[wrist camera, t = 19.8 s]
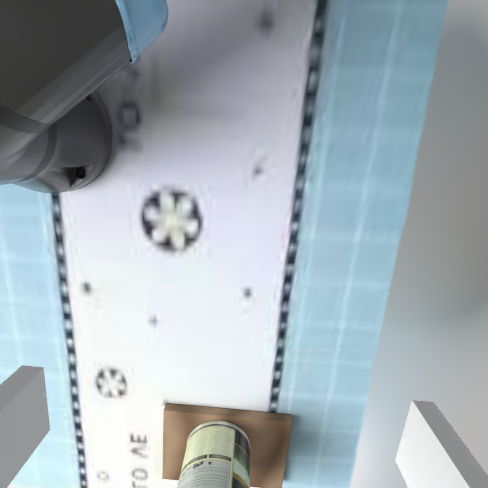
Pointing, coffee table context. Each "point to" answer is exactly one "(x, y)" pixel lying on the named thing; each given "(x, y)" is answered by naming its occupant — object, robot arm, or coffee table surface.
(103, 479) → the coffee table surface
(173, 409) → the walnut board
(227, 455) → the coffee can
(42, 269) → the coffee table surface
